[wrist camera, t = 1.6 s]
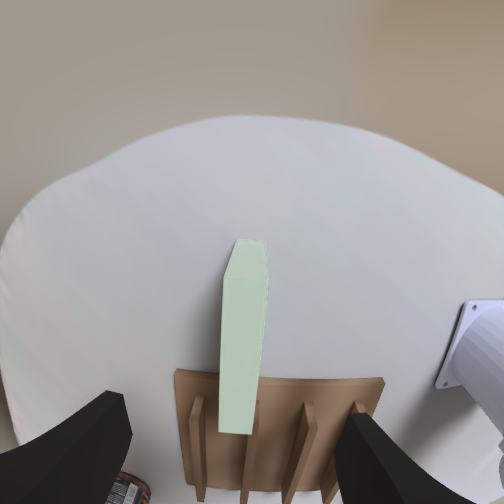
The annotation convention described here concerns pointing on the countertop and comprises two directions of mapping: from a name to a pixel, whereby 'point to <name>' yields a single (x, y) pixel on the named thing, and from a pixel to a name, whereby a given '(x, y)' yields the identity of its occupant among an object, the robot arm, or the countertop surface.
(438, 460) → the countertop surface
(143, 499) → the supplement bottle
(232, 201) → the countertop surface
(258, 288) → the pale green flat block
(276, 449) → the dish rack
